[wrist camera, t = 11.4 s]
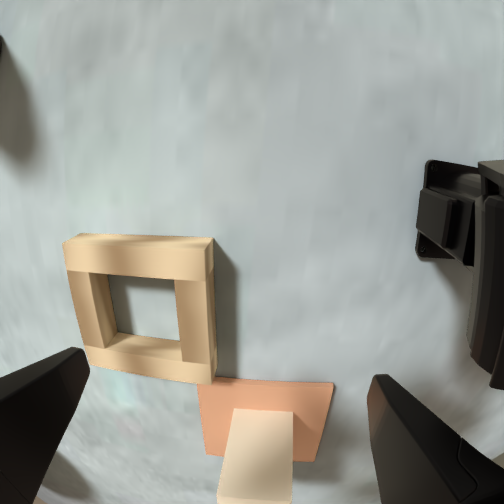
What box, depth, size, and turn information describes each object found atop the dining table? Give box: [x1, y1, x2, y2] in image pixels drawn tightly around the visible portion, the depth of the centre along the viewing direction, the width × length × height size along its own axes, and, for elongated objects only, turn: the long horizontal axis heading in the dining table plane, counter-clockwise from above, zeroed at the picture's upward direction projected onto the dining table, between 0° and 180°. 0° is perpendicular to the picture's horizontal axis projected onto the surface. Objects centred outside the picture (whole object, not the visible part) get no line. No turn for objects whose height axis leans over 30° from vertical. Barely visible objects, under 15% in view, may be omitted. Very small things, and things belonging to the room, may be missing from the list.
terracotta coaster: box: [197, 376, 334, 462], centre depth 26 cm, size 11×11×1 cm
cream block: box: [216, 408, 293, 504], centre depth 22 cm, size 5×5×9 cm
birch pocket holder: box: [62, 233, 218, 385], centre depth 22 cm, size 10×10×2 cm
